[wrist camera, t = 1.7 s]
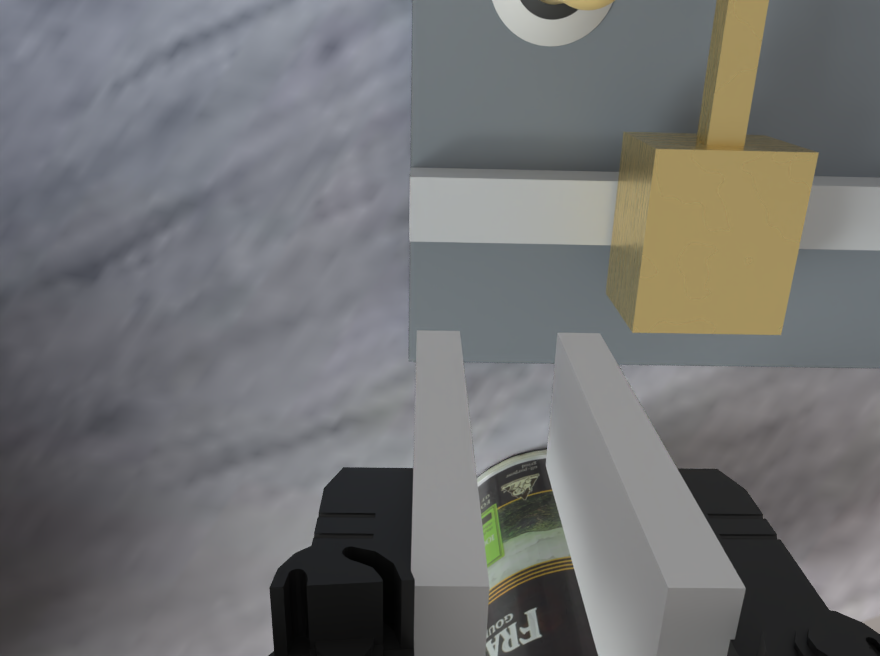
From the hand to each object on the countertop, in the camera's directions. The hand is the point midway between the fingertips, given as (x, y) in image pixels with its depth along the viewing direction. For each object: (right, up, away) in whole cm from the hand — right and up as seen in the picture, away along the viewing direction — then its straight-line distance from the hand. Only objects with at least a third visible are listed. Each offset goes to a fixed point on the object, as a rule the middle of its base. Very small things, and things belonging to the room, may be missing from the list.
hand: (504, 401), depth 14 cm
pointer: (+8, +9, +14) cm, 19 cm away
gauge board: (+11, +9, +17) cm, 22 cm away
